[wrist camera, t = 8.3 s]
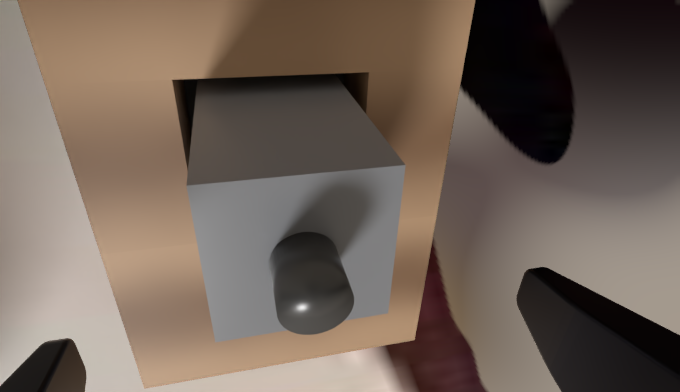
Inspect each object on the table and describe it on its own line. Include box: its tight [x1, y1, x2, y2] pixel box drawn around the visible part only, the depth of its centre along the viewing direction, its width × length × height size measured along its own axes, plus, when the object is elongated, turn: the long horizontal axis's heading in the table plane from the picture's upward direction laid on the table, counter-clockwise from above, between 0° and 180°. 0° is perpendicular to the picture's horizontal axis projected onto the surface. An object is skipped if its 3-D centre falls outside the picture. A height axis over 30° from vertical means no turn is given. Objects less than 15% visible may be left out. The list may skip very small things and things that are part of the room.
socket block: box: [17, 0, 475, 389], centre depth 16 cm, size 20×12×4 cm, turn 178°
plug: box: [186, 74, 406, 343], centre depth 13 cm, size 4×4×10 cm
